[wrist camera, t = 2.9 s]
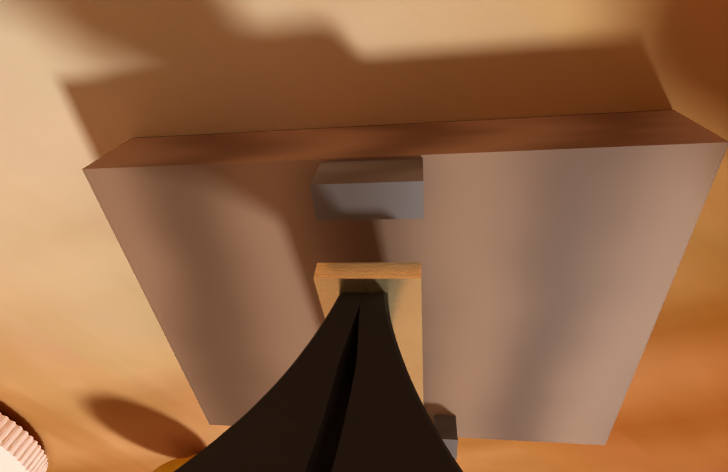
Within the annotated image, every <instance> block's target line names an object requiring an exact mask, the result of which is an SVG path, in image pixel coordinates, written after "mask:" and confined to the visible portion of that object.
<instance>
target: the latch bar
mask: <svg viewBox="0 0 728 472" xmlns="http://www.w3.org/2000/svg"><path fill="white" fill-rule="evenodd" d="M313 279H314V282H315V286H316V289H317V293H318V296H319V300H320V303H321V307H322V310H323V313H324V317H325V318H326V317H327V315H328V313H329V312H330V310H331V309H332V307H333V305H334V303H335V302H336V300H337V298H338V296H339V295H340V294H341V293H342V292H384V293H386V294H387V295H388V299H389V310H390V317H391V322H392V326H393V330H394V333H395V337H396V340H397V343H398V346H399V349H400V352H401V355H402V358H403V360H404V363H405V366H406V368H407V371H408V373H409V376H410V378H411V380H412V382H413V385H414V387H415V389H416V391H417V393H418V395H419V397H420V399H421V401H422V403H423V405H424V402H423V346H422V290H421V262H379V263H317V265H316V270H315V274H314V278H313Z"/></svg>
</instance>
